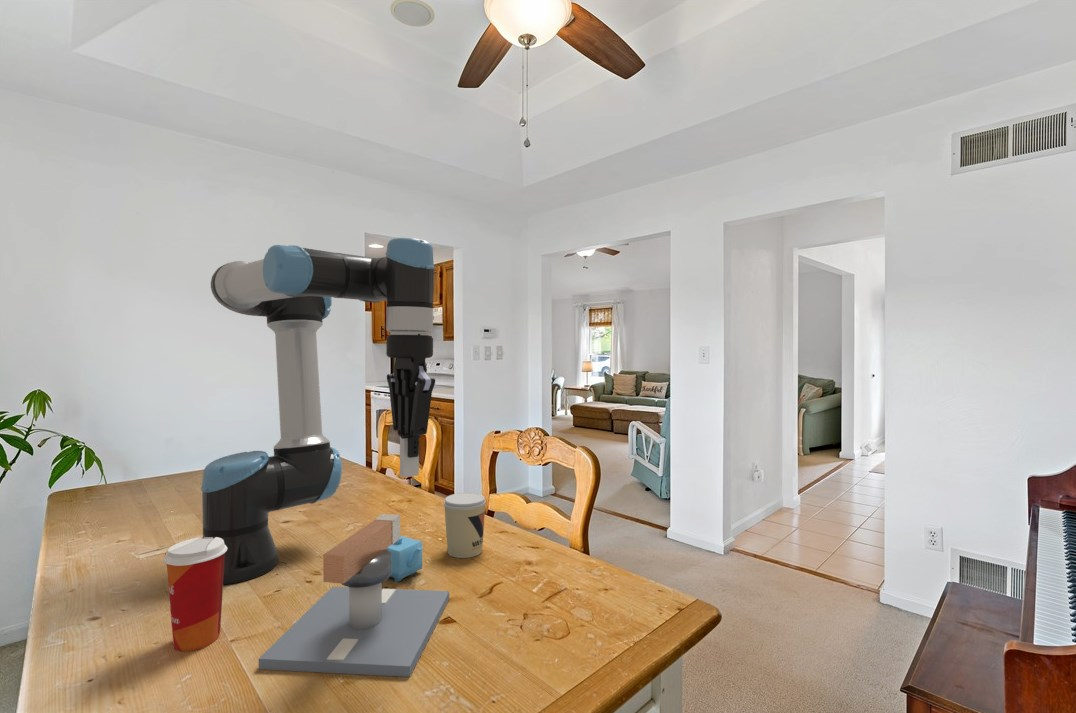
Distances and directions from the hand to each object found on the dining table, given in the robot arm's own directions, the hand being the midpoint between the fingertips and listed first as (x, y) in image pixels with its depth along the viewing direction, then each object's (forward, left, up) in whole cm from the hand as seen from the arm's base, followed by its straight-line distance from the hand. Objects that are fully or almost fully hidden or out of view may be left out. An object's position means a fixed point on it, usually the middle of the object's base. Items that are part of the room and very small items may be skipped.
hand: (409, 475), depth 85 cm
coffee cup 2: (+3, +30, -25) cm, 39 cm away
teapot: (-7, +17, -25) cm, 31 cm away
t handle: (-6, -3, -16) cm, 17 cm away
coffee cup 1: (-31, -8, -25) cm, 41 cm away
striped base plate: (-6, -3, -25) cm, 25 cm away
